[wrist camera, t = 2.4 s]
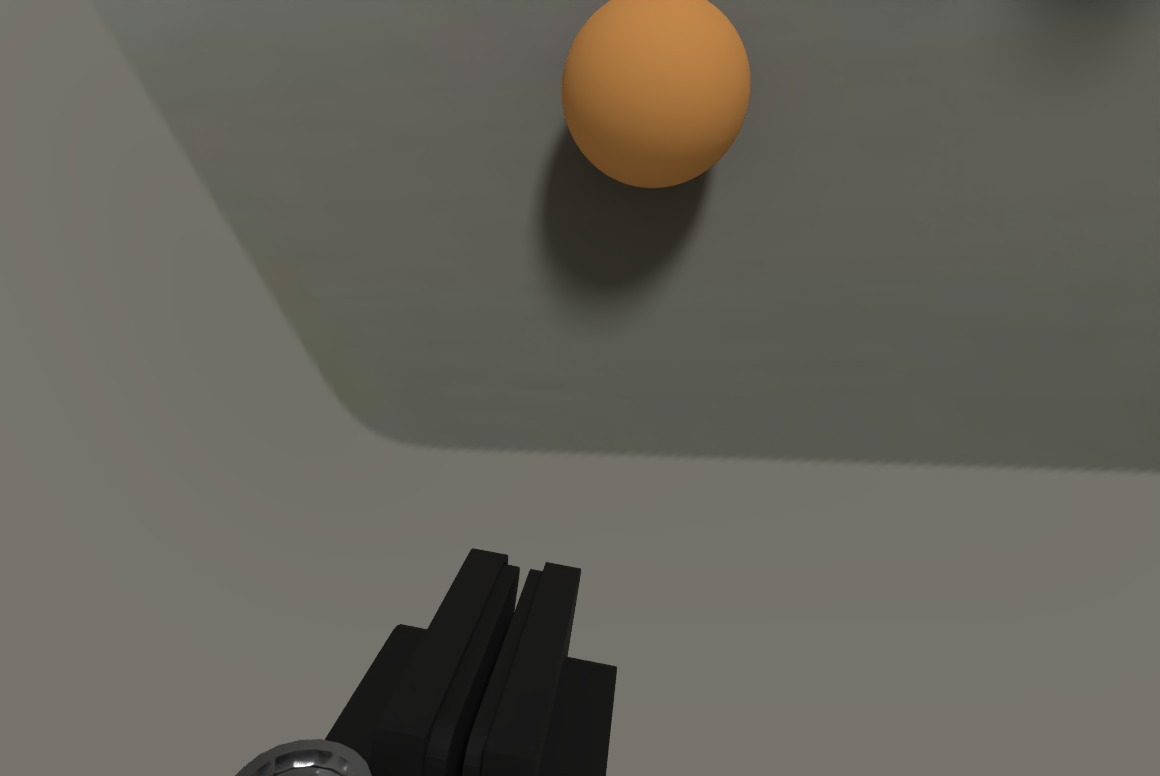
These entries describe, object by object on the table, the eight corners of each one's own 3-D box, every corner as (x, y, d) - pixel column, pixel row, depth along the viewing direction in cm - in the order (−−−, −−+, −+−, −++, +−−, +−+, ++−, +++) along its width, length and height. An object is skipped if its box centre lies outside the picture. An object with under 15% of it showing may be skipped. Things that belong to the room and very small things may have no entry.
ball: (757, 23, 24) (781, -25, 19) (723, 199, 25) (737, 202, 20) (587, 0, 24) (563, -52, 19) (563, 175, 26) (535, 171, 21)
